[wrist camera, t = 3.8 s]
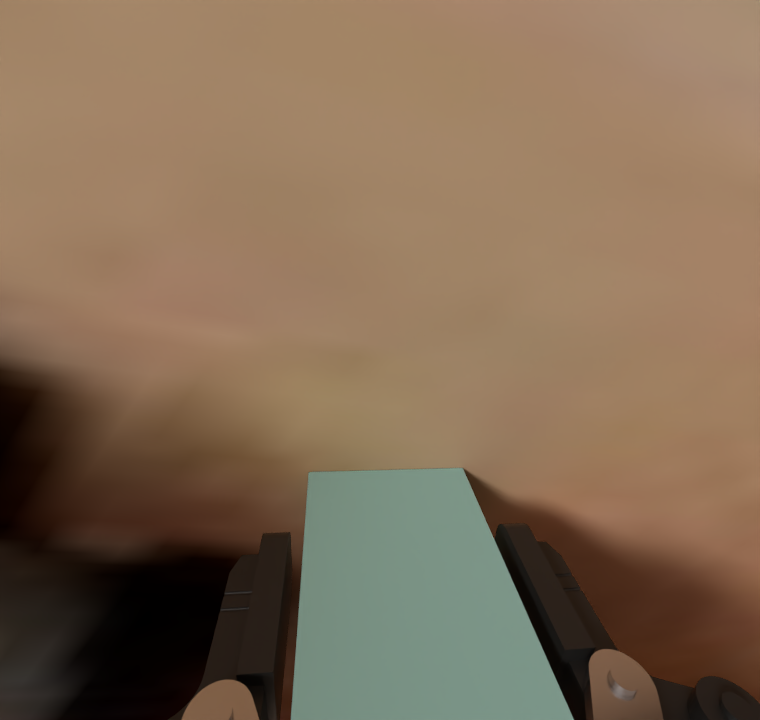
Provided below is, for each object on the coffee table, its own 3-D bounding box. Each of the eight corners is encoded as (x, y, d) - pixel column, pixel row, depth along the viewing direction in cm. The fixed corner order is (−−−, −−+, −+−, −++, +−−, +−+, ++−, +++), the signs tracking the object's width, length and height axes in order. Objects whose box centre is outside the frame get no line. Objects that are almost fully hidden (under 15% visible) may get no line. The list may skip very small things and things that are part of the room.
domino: (308, 472, 13) (273, 953, 5) (462, 468, 14) (650, 894, 6) (309, 524, 14) (281, 1006, 6) (454, 518, 15) (607, 949, 7)
